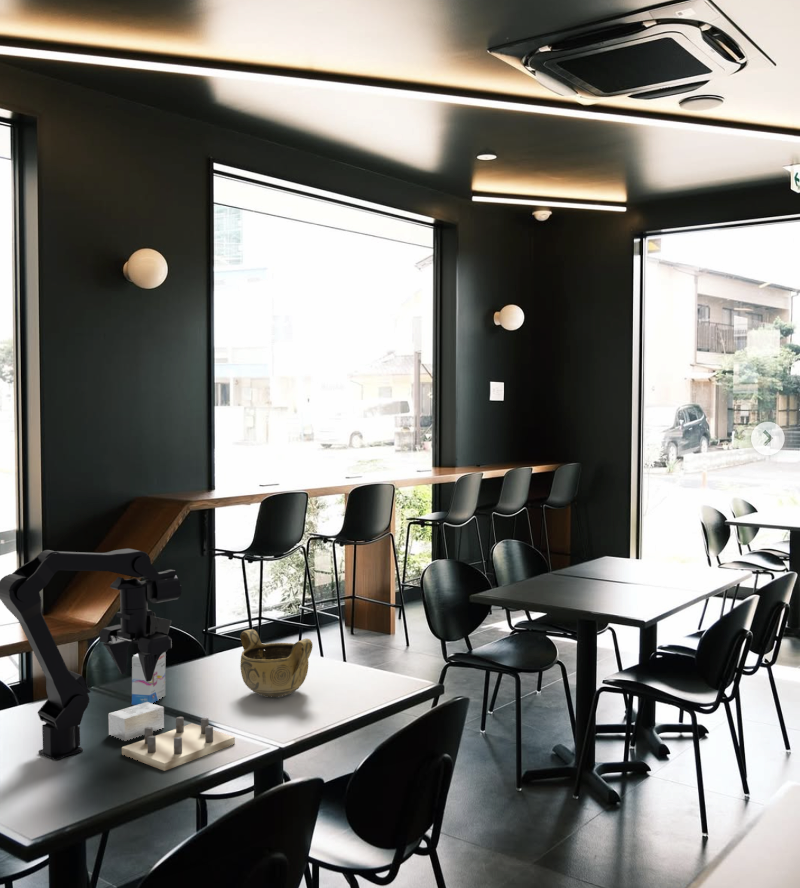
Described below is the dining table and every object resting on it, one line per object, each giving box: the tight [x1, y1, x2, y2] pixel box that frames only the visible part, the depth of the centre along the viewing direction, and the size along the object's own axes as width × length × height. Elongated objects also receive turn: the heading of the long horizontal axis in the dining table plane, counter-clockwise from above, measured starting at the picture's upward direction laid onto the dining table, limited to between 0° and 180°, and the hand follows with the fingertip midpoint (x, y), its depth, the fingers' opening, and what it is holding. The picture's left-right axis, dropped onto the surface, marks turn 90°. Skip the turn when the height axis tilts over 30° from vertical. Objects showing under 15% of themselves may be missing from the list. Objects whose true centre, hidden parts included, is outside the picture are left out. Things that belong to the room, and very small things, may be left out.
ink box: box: [131, 652, 167, 706], centre depth 218 cm, size 8×5×12 cm, turn 168°
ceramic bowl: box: [239, 629, 313, 699], centre depth 223 cm, size 22×17×15 cm
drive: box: [108, 702, 165, 742], centre depth 197 cm, size 10×6×5 cm, turn 141°
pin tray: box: [121, 716, 236, 772], centre depth 186 cm, size 18×14×4 cm
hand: (135, 677), depth 197 cm, fingers open, 9 cm apart
